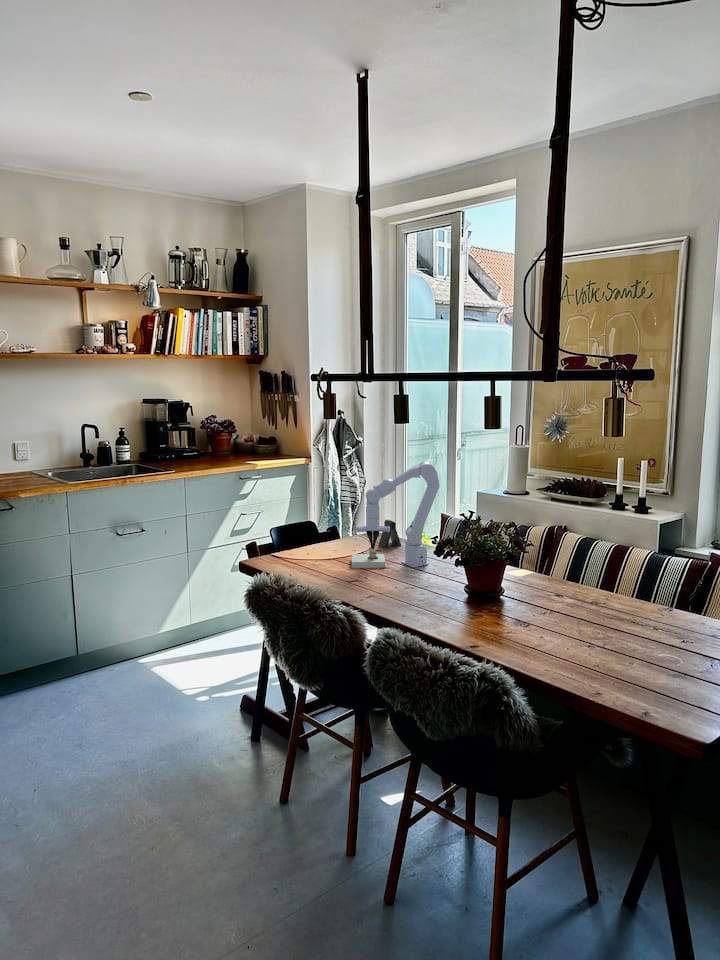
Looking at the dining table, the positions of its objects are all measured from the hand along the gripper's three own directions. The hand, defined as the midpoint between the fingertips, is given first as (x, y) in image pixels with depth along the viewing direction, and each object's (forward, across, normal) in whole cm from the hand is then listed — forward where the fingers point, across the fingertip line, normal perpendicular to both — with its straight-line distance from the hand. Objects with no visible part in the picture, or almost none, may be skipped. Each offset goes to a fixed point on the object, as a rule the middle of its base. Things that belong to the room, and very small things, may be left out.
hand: (372, 548), depth 299 cm
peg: (+7, 0, 0) cm, 7 cm away
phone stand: (+7, -9, -30) cm, 32 cm away
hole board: (+7, +2, 0) cm, 7 cm away
